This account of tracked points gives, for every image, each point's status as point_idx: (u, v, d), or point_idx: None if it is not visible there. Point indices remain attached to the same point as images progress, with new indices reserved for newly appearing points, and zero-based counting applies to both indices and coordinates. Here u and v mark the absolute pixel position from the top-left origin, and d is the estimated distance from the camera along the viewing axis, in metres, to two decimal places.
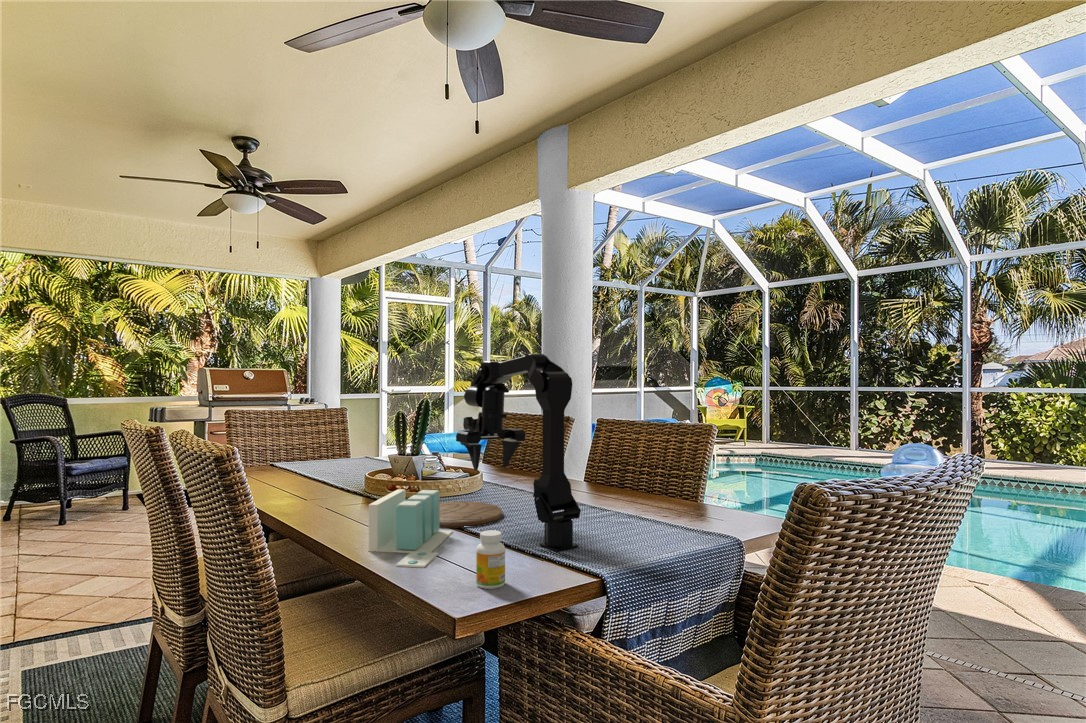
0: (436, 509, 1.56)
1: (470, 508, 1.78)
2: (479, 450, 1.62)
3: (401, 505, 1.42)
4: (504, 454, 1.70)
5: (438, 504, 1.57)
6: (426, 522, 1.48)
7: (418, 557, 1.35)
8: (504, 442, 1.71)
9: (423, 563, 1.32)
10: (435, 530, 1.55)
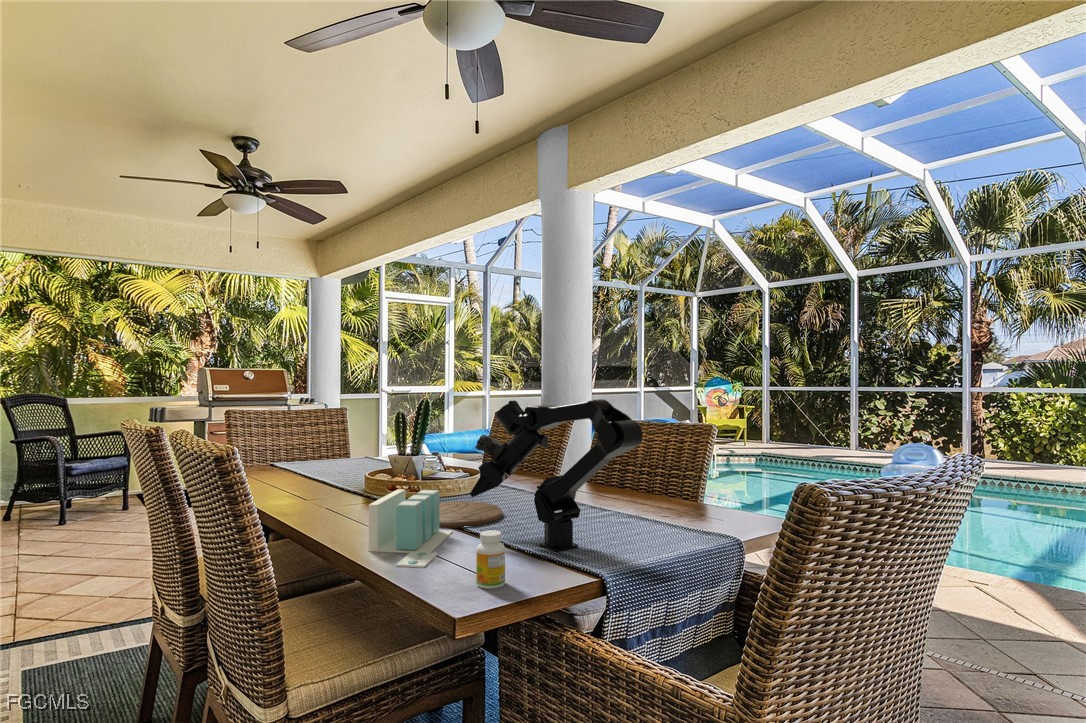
0: (436, 509, 1.56)
1: (470, 508, 1.78)
2: None
3: (401, 505, 1.42)
4: None
5: (438, 504, 1.57)
6: (426, 522, 1.48)
7: (418, 557, 1.35)
8: None
9: (423, 563, 1.32)
10: (435, 530, 1.55)
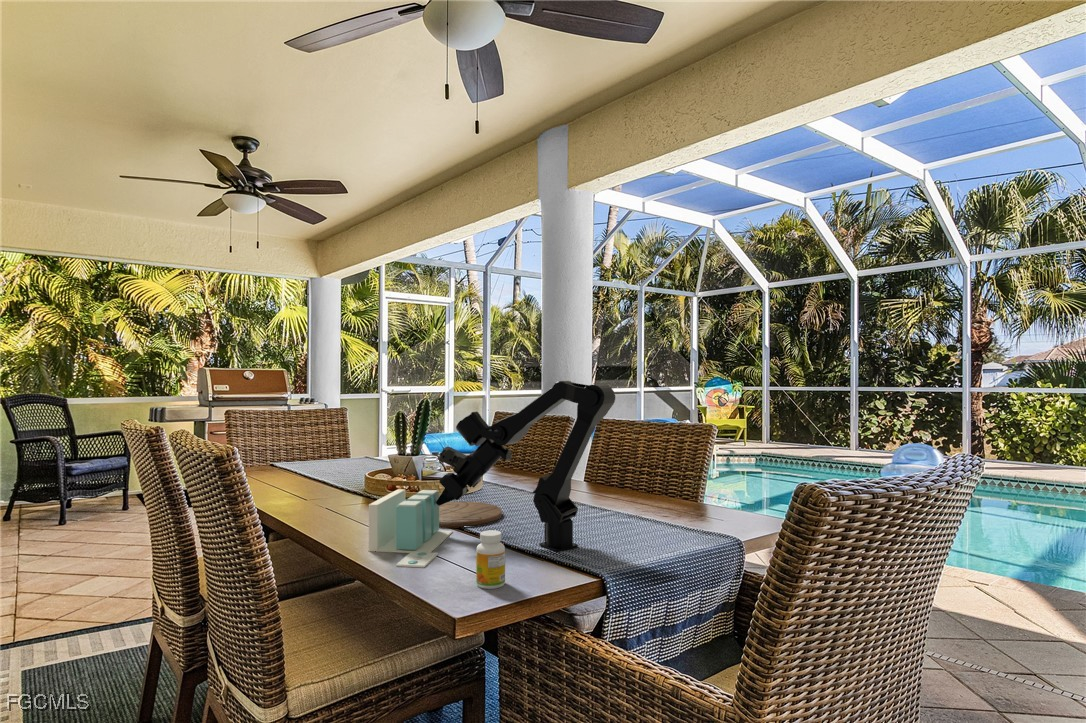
0: (435, 509, 1.56)
1: (470, 508, 1.78)
2: None
3: (401, 505, 1.42)
4: None
5: None
6: (426, 522, 1.48)
7: (418, 557, 1.35)
8: None
9: (423, 563, 1.32)
10: (435, 530, 1.55)
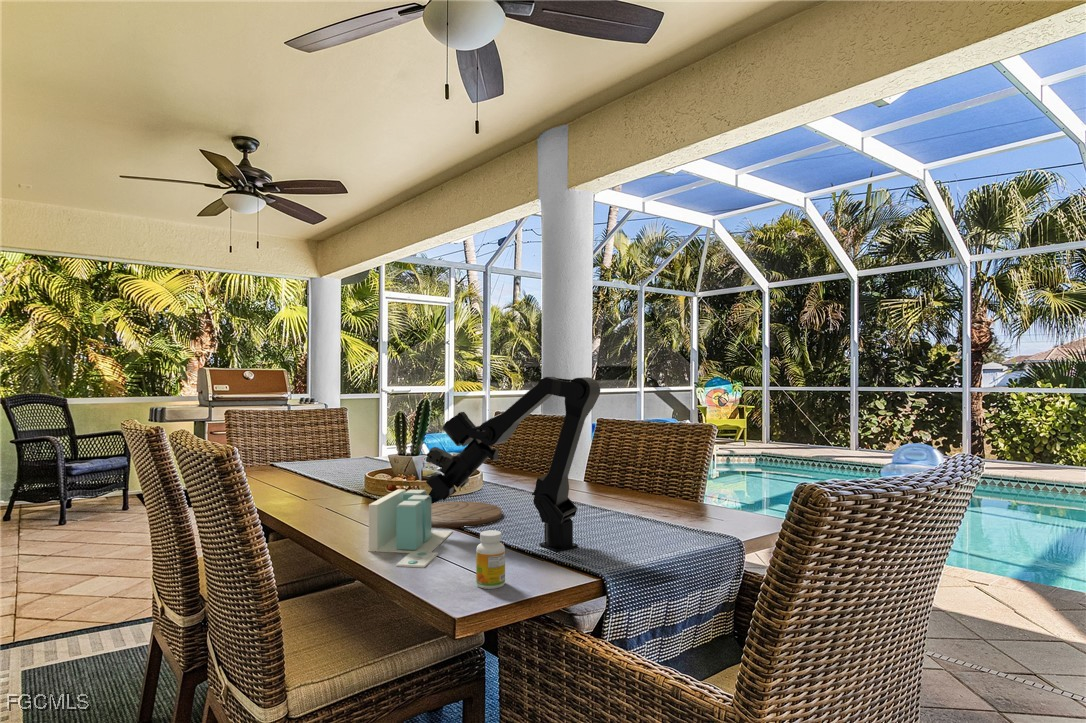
0: None
1: (470, 508, 1.78)
2: None
3: (401, 505, 1.42)
4: None
5: None
6: (426, 522, 1.48)
7: (418, 557, 1.35)
8: None
9: (423, 563, 1.32)
10: None
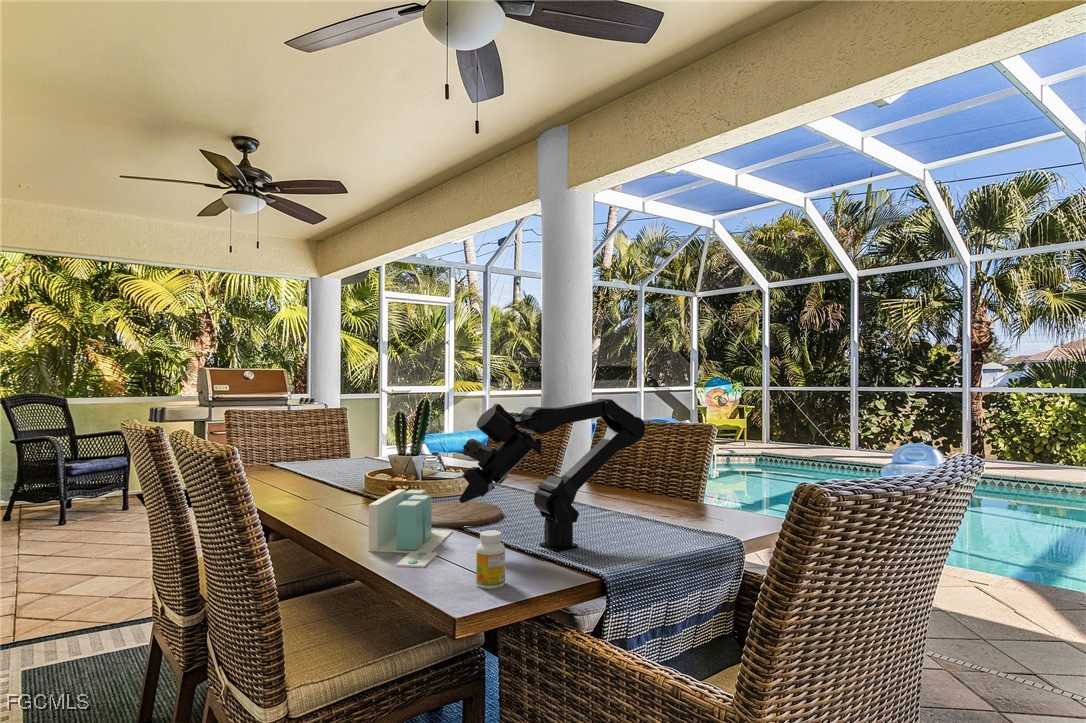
0: None
1: (470, 508, 1.78)
2: None
3: (401, 505, 1.42)
4: None
5: None
6: (426, 522, 1.48)
7: (418, 557, 1.35)
8: None
9: (423, 563, 1.32)
10: None
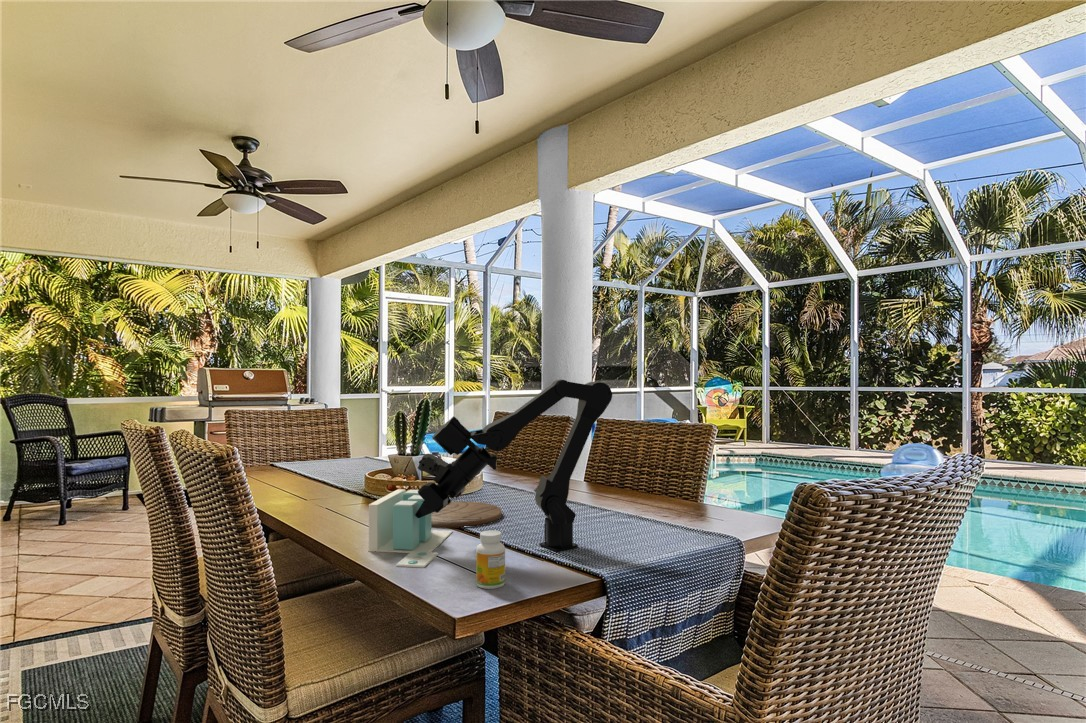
0: None
1: (470, 508, 1.78)
2: None
3: (398, 505, 1.42)
4: None
5: None
6: (426, 522, 1.48)
7: (418, 557, 1.35)
8: None
9: (423, 563, 1.32)
10: None
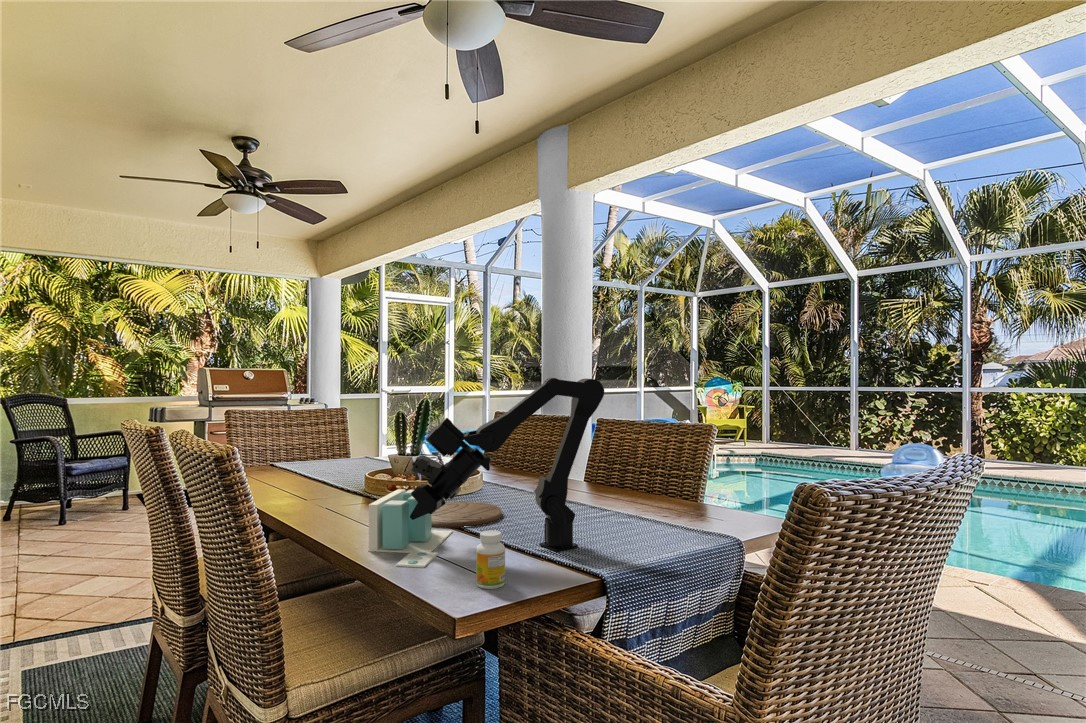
0: None
1: (470, 508, 1.78)
2: None
3: (387, 505, 1.42)
4: None
5: None
6: (426, 522, 1.48)
7: (418, 557, 1.35)
8: None
9: (423, 563, 1.32)
10: None
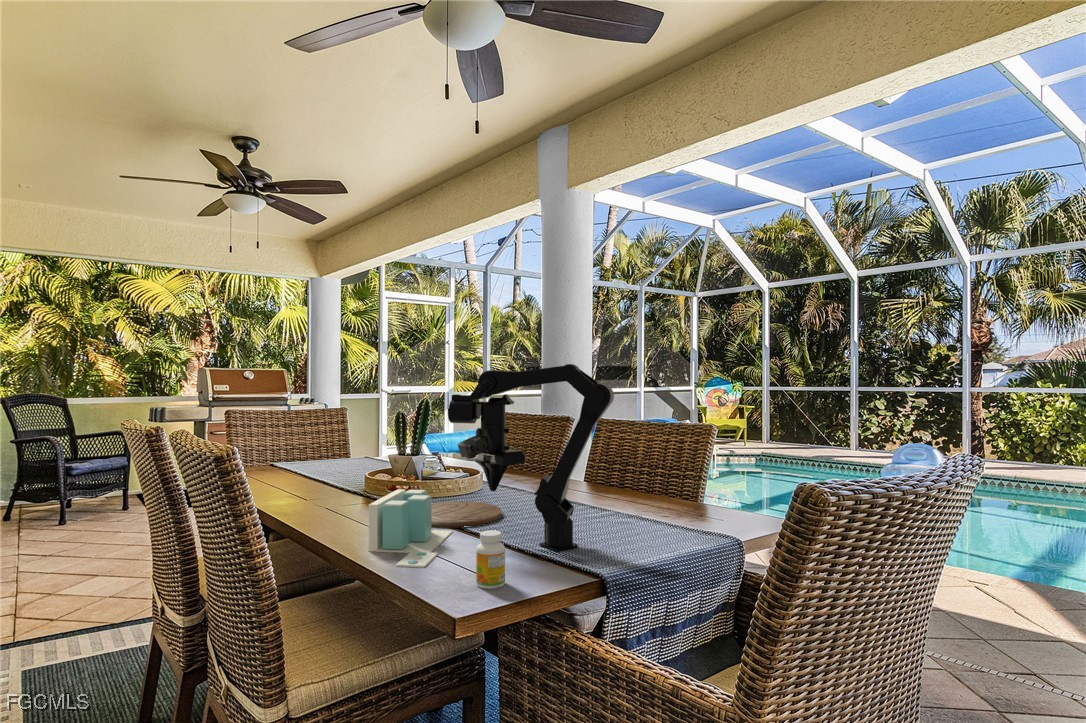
0: None
1: (470, 508, 1.78)
2: None
3: (387, 505, 1.42)
4: None
5: None
6: (426, 522, 1.48)
7: (418, 557, 1.35)
8: None
9: (423, 563, 1.32)
10: None
